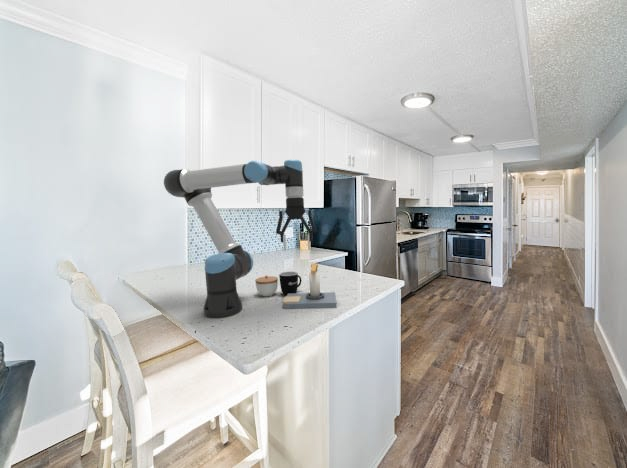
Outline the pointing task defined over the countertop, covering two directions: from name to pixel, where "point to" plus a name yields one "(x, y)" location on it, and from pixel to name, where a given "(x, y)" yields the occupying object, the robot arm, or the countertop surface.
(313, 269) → the clip
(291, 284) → the mug
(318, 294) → the white cylinder
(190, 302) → the countertop surface
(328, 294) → the grey base with post
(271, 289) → the lidded jar
